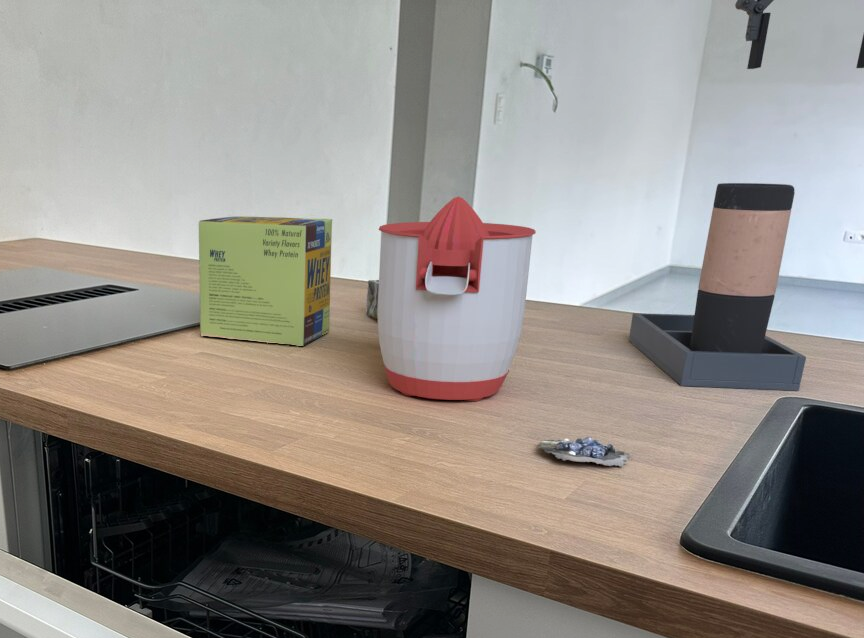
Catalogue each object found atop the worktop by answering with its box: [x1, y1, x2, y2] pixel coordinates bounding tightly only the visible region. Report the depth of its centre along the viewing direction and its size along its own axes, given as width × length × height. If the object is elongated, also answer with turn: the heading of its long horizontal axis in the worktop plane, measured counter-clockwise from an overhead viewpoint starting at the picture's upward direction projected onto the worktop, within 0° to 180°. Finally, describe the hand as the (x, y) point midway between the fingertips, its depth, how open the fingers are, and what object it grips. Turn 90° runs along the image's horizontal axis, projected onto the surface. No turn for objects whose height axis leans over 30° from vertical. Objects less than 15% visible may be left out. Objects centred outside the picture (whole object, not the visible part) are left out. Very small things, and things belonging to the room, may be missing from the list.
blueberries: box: [536, 436, 631, 468], centre depth 73 cm, size 7×8×2 cm
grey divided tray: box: [628, 312, 807, 392], centre depth 104 cm, size 12×23×4 cm, turn 171°
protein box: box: [198, 215, 333, 347], centre depth 116 cm, size 10×15×16 cm
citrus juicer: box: [377, 196, 537, 402], centre depth 89 cm, size 16×17×20 cm
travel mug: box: [690, 182, 796, 353], centre depth 95 cm, size 8×8×20 cm
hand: (808, 68), depth 114 cm, fingers open, 13 cm apart
